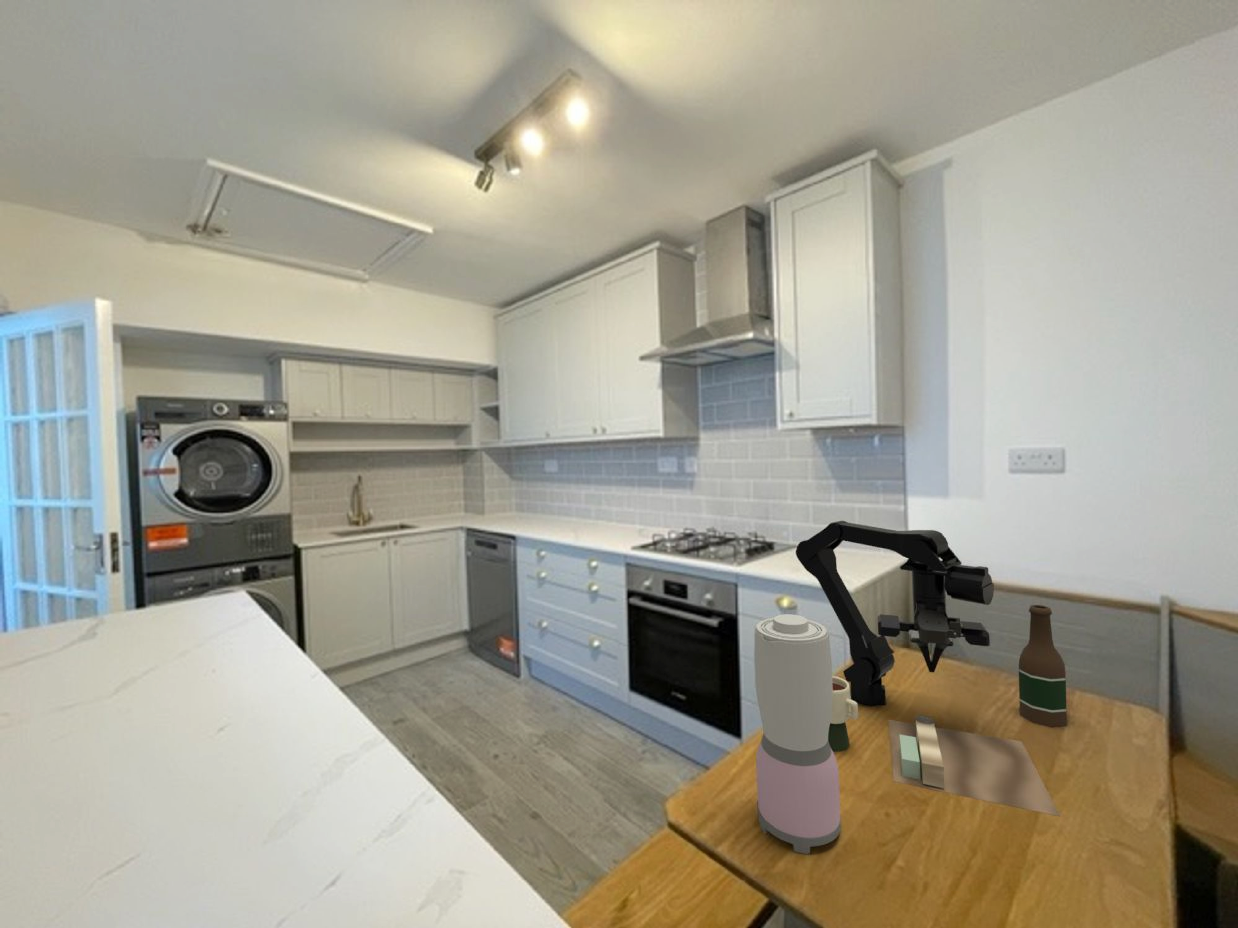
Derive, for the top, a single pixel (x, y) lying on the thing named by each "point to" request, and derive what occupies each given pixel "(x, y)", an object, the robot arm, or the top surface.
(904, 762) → the block
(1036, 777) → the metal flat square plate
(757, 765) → the blender
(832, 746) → the character mug
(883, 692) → the robot arm
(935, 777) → the fold-out leg
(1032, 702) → the beer bottle
